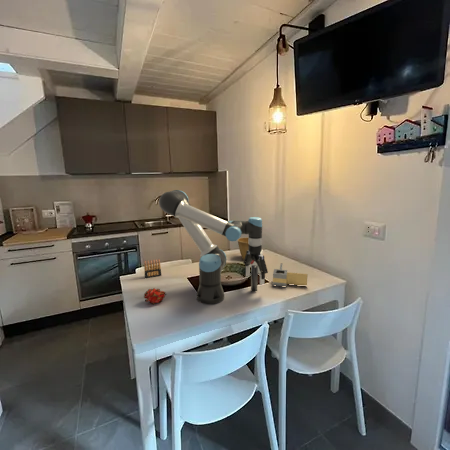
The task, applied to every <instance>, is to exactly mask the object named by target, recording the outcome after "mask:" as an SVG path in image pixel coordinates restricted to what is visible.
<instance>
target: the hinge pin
mask: <svg viewBox="0 0 450 450" xmlns="http://www.w3.org/2000/svg"><path fill="white" fill-rule="evenodd" d="M258 275H259V274H258V266H257V265H252V267H251V273H250V279H251V280H250V291H251V290H252V291H257V292H258V279H259V278H258V277H259V276H258ZM252 291H251V292H252Z"/></svg>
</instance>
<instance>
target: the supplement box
mask: <svg viewBox="0 0 450 450" xmlns="http://www.w3.org/2000/svg"><path fill="white" fill-rule="evenodd" d="M263 254H264V249H262V251H261V253H260V255H261V256H263ZM258 261H259V260H258ZM252 265H257V263H256V262H255V261H254V260H252V262H251V263H250V267H252ZM257 266H258V265H257ZM260 273H261V272H260V270H259V267H258V275H260Z"/></svg>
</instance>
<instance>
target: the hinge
mask: <svg viewBox="0 0 450 450" xmlns="http://www.w3.org/2000/svg"><path fill="white" fill-rule="evenodd" d="M286 284H294V285H307V286H308V273H301V272H299V273H298V272H289V271H288V270H287V269H283V263H280V266H279V268H278V269H277V268H274V269H273V272H272V286H273V285H276V286H275V287H277V286H286V287H287V285H286Z"/></svg>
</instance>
